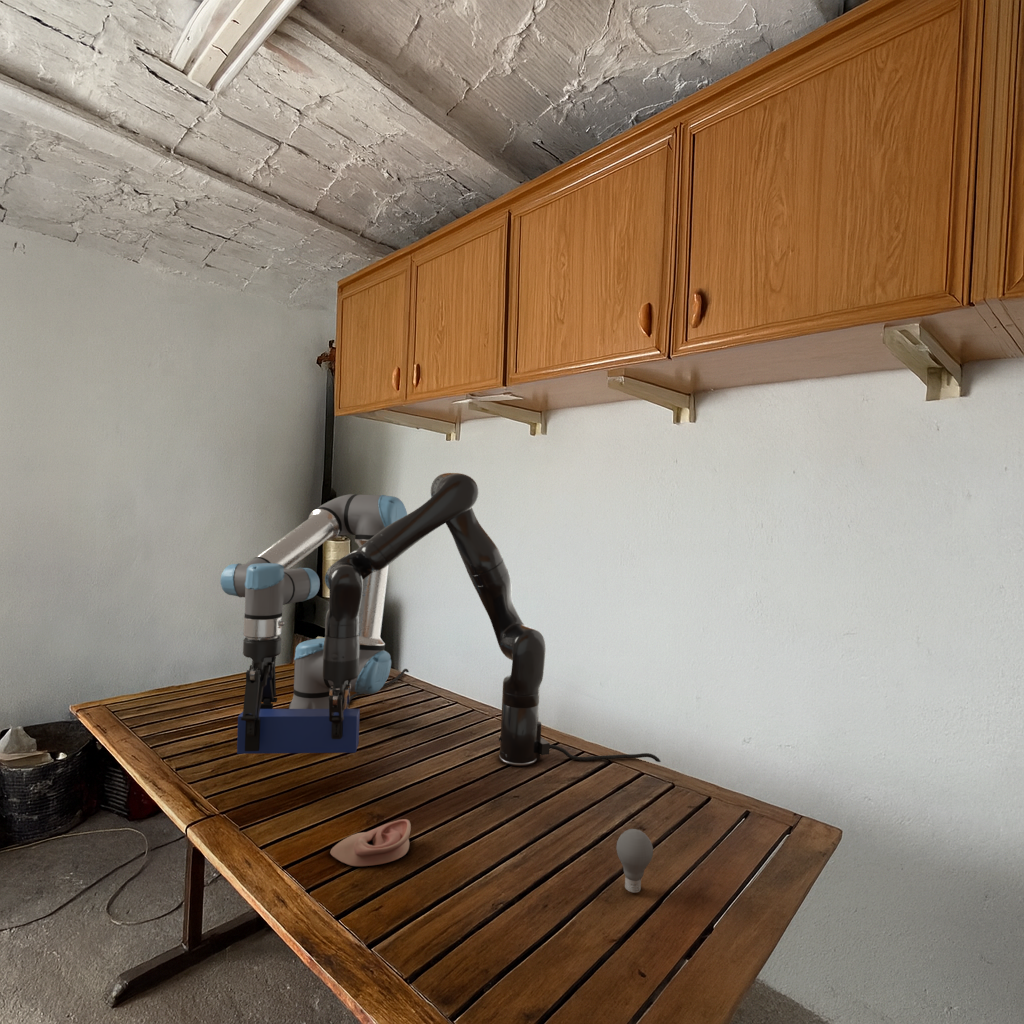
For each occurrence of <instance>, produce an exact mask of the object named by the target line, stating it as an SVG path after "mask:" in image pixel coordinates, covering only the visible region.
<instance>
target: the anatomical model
mask: <svg viewBox="0 0 1024 1024" xmlns="http://www.w3.org/2000/svg"><path fill="white" fill-rule="evenodd" d="M411 825H412V824H411V822H410V820H409V819H406V818H404V819H403V818H402V819H396V820H394V821H391V822H387V823H385V824H382V825H380V826H377V827H375V828H373V829H370V830H367V831H363V832H358V833H354V834H352V835H349V836H348V837H345V838H344V839H342V840H341V841H339V842H338V843H336V844H335V845H334V846H332V848H331V849H330V850H329V851H330V852H329V854H330V855H331V856H332V857H333V858H334V859H335V860H337V861H339V862H341V863H342V864H344V865H345V864H346V865H347V866H351V867H368V866H369V867H370V866H377V865H383V864H387V863H391V862H394V861H397V860H399V859H400V858H402V857H404V856H405V855H406V854H407V853H408V852H409V849H410V839H409V837H410V834H411V830H412V829H411V828H412V826H411Z"/></svg>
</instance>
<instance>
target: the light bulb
mask: <svg viewBox="0 0 1024 1024" xmlns="http://www.w3.org/2000/svg"><path fill="white" fill-rule="evenodd" d="M615 849H616V854H617V857H618V859H619V861H620V863H621V865H622V867H623V873H624V874H623V875H624V876H625V878H624V888H625V890H627V891H628V892H630V893H634V894H635V893H639V892H640V891H641V889H642V887H641V886H642V879H643V877H644V875H645V871H646V868H647V867H648V866H649V864H650V863H651V861H652V859H653V855H654V847H653V843H652V841H651V838H649V836H648V835H647V834H646V833H645V832H643V831H642V830H641V829H636V828H629V829H627V830H625V831H623V832H622V833H621V834H620V835H619V837H618V839H617V841H616V847H615Z"/></svg>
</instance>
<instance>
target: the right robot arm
mask: <svg viewBox="0 0 1024 1024" xmlns="http://www.w3.org/2000/svg"><path fill="white" fill-rule="evenodd" d="M430 496H431V497H430V498H429V499H428V500H427V501H425V502H424V503H423V504H422V505H420V506H419V507H418V508H416V509H414V510H413V511H412V512H410V513H407V515H406V516H404V517H403V518H401V519H399V520H397V521H395V522H393V523H392V524H390V525H388V526H387V527H385V528H384V529H382V530H381V531H380V532H378V533H377V534H376V535H374V536H373V537H372V538H371V539H369V540H368V541H367V542H365V543H364V544H363V545H362V546H361V547H359V546H358V547H357V548H356V549H354V550H353V551H351V552H349V553H348V554H346V555H344V556H343V557H341V558H340V559H338V560H337V561H335V562H334V563H333V564H331V565H330V567H328V569H327V570H326V572H325V576H324V583H325V585H326V587H327V589H328V590H329V593H328V594H329V596H328V597H329V598H328V600H329V601H328V610H327V611H326V615H325V626H324V637H325V640H324V648H323V678H324V679H326V680H328V681H329V680H330V681H332V682H333V684H332V688H330V692H329V695H330V696H329V721H330V722H332V732H331V738H332V739H341V738H342V734H343V720H344V710H346V709H349V707H350V703H351V700H350V696H351V691H350V690H351V684H350V682H351V680H353V679H355V678H357V677H358V675H359V610H360V605H361V599H362V592H363V579H365V578H366V577H367V576H369V575H370V574H372V573H373V572H377V571H380V570H382V569H384V568H385V567H386V566H388V565H389V566H390V564H391V563H393V562H394V561H396V560H397V559H398V558H400V556H402V555H403V554H404V553H405V552H406V551H408V550H409V549H410V548H412V547H413V546H414V545H415V544H417V543H418V542H419V541H421V540H422V539H424V538H425V537H426V536H428V535H429V534H430V533H432V532H434V531H435V530H437V529H438V528H440V527H441V526H443V525H446V527H447V529H448V530H449V533H450V534H451V536H452V538H453V541H454V543H455V547H456V549H457V551H458V554H459V556H460V558H461V560H462V562H463V565H464V567H465V569H466V572H467V574H468V577H469V579H470V581H471V583H472V585H473V587H474V589H475V591H476V594H477V595H478V597H479V599H480V602H481V604H482V606H483V608H484V610H485V612H486V614H487V616H488V618H489V620H490V624H491V627H492V629H493V632H494V635H495V638H496V642H497V644H498V647H499V649H500V652H502V654H503V655H504V657H505V658H507V659H509V660H511V664H512V665H511V670H510V671H511V672H510V674H509V675H507V676H505V677H504V678H503V680H502V692H501V693H502V694H501V695H502V696H501V718H500V720H501V721H500V736H499V737H498V742H499V754H498V755H499V756H498V759H499V761H500V762H502V763H503V764H505V765H508V766H511V767H527V766H528V767H529V766H531V765H534V764H536V762H539V761H541V756H546V755H550V749H552V750H555V751H558V752H561V753H562V754H564V755H565V756H566V757H567V758H568V759H570V760H573V761H578V762H591V761H601V760H604V761H605V760H620V759H643V758H650V759H652V760H654V761H655V762H657V763H661V762H662V761H661V759H660V758H659V757H657V756H656V755H655V754H653V753H648V752H644V753H643V752H641V753H636V754H635V753H629V754H628V753H626V754H625V753H624V754H611V755H610V754H607V755H592V756H577V755H573V754H571V753H570V752H568V751H567V750H566V749H565V748H563V747H561V746H559V745H555V744H551V743H550V742H549V741H548V740H546V739H545V738H544V737H542V722H541V721H540V720H539V717H540V716H539V714H540V713H539V712H540V711H539V710H540V690H541V685H542V682H543V680H544V675H545V666H546V656H547V655H546V653H547V643H546V640H545V637H544V635H543V633H542V632H541V631H540V630H538V629H536V628H533V627H530V626H527V625H526V624H525V623H524V621H523V620H522V619H521V617H520V614H519V613H518V611H517V608H516V606H515V604H514V601H513V585H512V577H511V574H510V571H509V568H508V566H507V564H506V561H505V559H504V557H503V555H502V553H501V551H500V549H499V548H498V547H497V545H496V543H495V542H494V541H493V539H492V538H491V536H489V534H488V533H487V531H485V529H484V528H483V526H482V525H481V524H480V522H479V520H478V518H477V516H476V514H475V512H474V509H473V507H474V506H475V504H476V503H477V501H478V497H479V487H478V483H477V482H476V480H474V478H472V477H471V476H469V475H468V474H464V473H459V472H445V473H442V474H439V475H438V476H436V477H435V478H434V480H433V481H432V483H431V486H430ZM349 701H350V702H349ZM334 712H338V713H339V716H334Z"/></svg>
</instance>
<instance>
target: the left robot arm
mask: <svg viewBox="0 0 1024 1024" xmlns="http://www.w3.org/2000/svg"><path fill="white" fill-rule="evenodd" d="M406 515H408V512H407V508H406V506H405V504H404V501H402V500H401V499H400V497H399V498H398V497H397V496H393V495H385V494H358V493H349V494H343V495H340V496H338V497H335V498H333V499H331V500H328V501H327V502H325V503H323V504H321V505H319V506H318V507H316V508H314V510H312V511H311V512H310V513H309V515H308V518H307V519H306V520H305V521H302V523H300V524H299V525H297V526H296V527H295V528H293V529H292V530H291V531H289V532H287V534H285V535H284V536H282V537H281V538H279V539H278V540H276V541H275V542H274V543H273V544H271V545H269V546H268V547H266V548H265V549H264V550H262V551H261V552H260V553H258V554H256V555H255V556H254V557H252V558H251V559H250V560H248V561H247V562H246V563H231V564H228V565H227V566H225V568H224V569H223V571H222V573H221V575H220V587H221V589H222V591H223V592H224V593H225V594H226V595H229V596H233V597H238V598H244V615H243V616H244V617H243V633H242V634H243V636H244V638H243V639H242V640H243V642H242V643H243V644H242V654H243V657H245V658H249V659H251V664H250V665H249V668H248V669H246V671H245V687H244V688H245V689H244V697H243V709H242V712H243V716H242V717H241V720H242V721H246V728H245V751H259V746H260V719H259V713H260V709H274V703H278V697H276V696H277V683H276V679H277V678H276V660H277V656H279V655H280V654H281V653H282V637H281V634H282V627H283V626H284V625H285V621H284V620H282V619H283V607H284V606H285V605H289V604H294V603H300V602H301V603H303V602H306V601H307V600H310V599H313V598H314V597H315V596H316V595H317V594H318V592H319V590H320V585H321V582H320V577H319V575H318V573H317V572H316V571H315V570H313V569H312V568H309V567H297V568H293V567H294V566H296V565H297V564H298V563H300V562H301V561H302V560H303V559H305V558H307V556H309V555H310V554H311V553H312V552H314V551H315V550H316V549H318V547H321V545H322V544H324V543H326V542H327V541H328V542H329V541H333V540H335V539H336V538H338V537H340V536H346V535H352V536H354V543H356V544H357V546H358V548H359V547H361V546H362V545H363V544H364V543H365V542H367V541H368V540H369V539H371V538H372V537H373V536H374V535H376V534H377V533H378V532H380V531H381V530H382V529H384V528H385V527H387V526H388V525H390V524H392V523H393V522H395V521H397V520H399V519H401V518H403V517H404V516H406ZM389 568H390V564H389V565H388V566H386V567H385V568H384V569H382V570H380V571H377V572H373V573H372V574H370V575H369V576H367V577H366V578H365V579H363V592H362V599H361V605H360V610H359V675H358V677H357V678H355V679H353V680H351V682H350V684H351V690H350V693H353V694H351V695H350V701H349V702H350V703H351V701H352V699H354V698H356V697H359V696H361V695H365V694H366V695H373V694H376V693H378V692H379V691H380V690H381V689H382V688H384V687H387V686H390V685H392V684H393V683H395V682H397V681H398V680H399V679H400V678H401V677H402V676H403V675H404V674H405V673H409V672H410V671H409V669H408V668H404V669H403V670H402V671H401V672H400V673H401V674H400V673H399V674H398V675H397V676H396V677H395V678H393V679H391V680H390V681H388V682H387V680H388V678H389V676H390V672H391V668H392V659H391V654H390V653H389V652H388V651H387V650H385V647H386V643H385V642H384V641H383V639H382V638H381V633H382V627H383V625H382V624H383V617H384V611H385V610H384V609H385V602H386V601H385V600H386V593H387V585H388V577H389ZM324 640H325V638H320V639H316V638H313V639H307V640H304V641H302V642H299V643H298V644H297V645H296V647H295V652H294V653H295V654H294V658H293V660H294V672H293V695H292V696H293V697H292V699H291V702H289V705H288V709H329V696H330V695H329V692H330V688H332V684H333V682H332V681H330V680H329V681H328V680H326V679H324V678H323V648H324Z"/></svg>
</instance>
